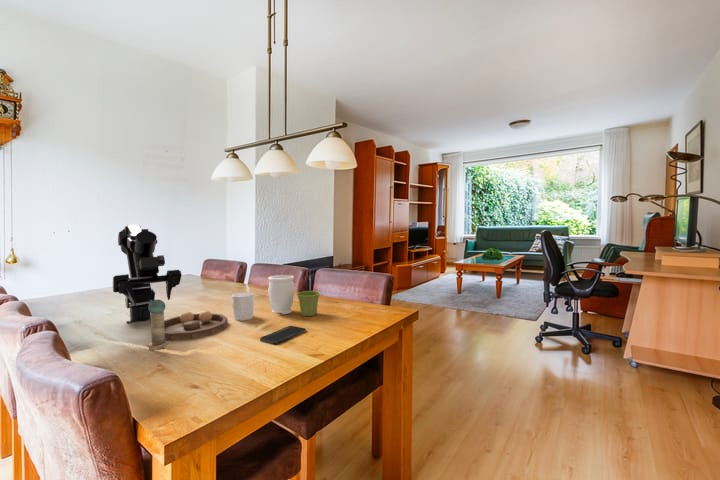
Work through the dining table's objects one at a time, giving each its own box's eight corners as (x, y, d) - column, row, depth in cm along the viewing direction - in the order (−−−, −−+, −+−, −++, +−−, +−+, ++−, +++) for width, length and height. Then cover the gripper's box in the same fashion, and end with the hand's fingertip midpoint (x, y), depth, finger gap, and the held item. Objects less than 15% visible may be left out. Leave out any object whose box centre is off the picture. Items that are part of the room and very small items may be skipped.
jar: (271, 309, 144) (270, 274, 143) (295, 308, 145) (295, 274, 144) (266, 316, 134) (265, 279, 133) (292, 315, 134) (292, 278, 133)
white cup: (247, 323, 124) (246, 297, 123) (228, 322, 126) (227, 296, 125) (258, 317, 132) (257, 292, 131) (240, 316, 133) (239, 291, 133)
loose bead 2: (196, 323, 121) (195, 311, 121) (205, 320, 125) (205, 308, 125) (205, 325, 120) (205, 312, 119) (214, 321, 124) (214, 309, 123)
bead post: (144, 349, 100) (142, 301, 99) (159, 343, 105) (157, 297, 104) (157, 351, 98) (155, 302, 97) (172, 345, 103) (170, 298, 102)
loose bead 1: (177, 324, 120) (176, 312, 120) (187, 321, 124) (186, 309, 124) (186, 326, 118) (186, 313, 118) (196, 322, 123) (196, 310, 122)
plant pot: (292, 314, 137) (292, 293, 136) (312, 309, 143) (312, 289, 142) (304, 319, 130) (304, 297, 129) (325, 314, 136) (324, 293, 135)
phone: (258, 338, 107) (290, 325, 120) (258, 342, 107) (290, 328, 120) (277, 342, 103) (307, 328, 116) (277, 346, 103) (307, 331, 116)
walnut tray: (137, 338, 110) (137, 329, 109) (192, 318, 131) (192, 311, 131) (191, 346, 102) (190, 336, 102) (240, 324, 123) (239, 316, 123)
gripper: (111, 249, 103) (117, 290, 95) (179, 246, 115) (189, 282, 107) (110, 272, 109) (115, 312, 102) (174, 266, 121) (183, 302, 114)
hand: (152, 301), depth 106 cm, fingers open, 9 cm apart
